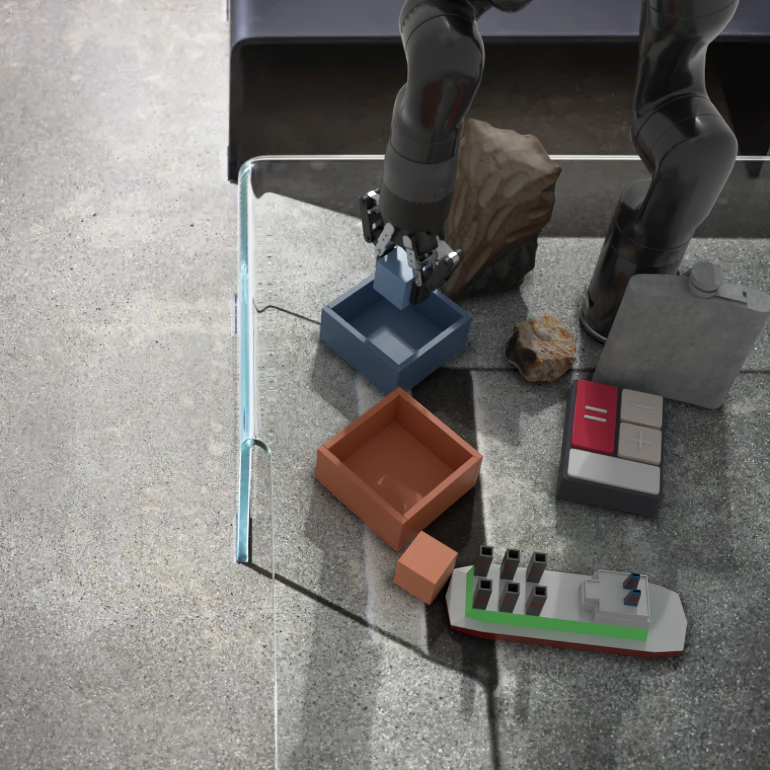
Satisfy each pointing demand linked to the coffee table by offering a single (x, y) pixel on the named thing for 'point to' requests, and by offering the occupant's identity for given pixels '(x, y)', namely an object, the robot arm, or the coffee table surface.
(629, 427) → the calculator
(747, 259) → the coffee table surface
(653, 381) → the hip flask
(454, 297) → the tall brown boulder
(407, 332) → the blue bin
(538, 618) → the toy boat
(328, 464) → the terracotta bin
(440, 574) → the terracotta block
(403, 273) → the blue block
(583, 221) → the coffee table surface
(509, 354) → the rock
